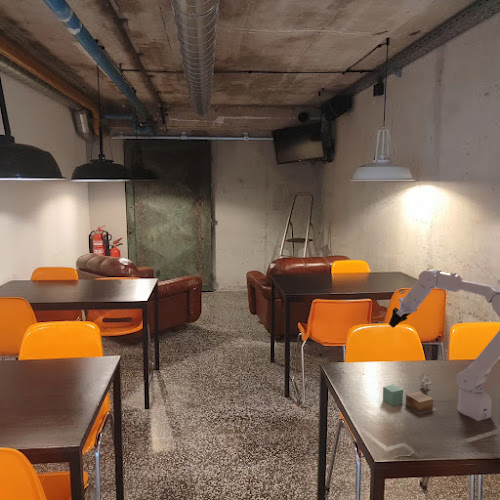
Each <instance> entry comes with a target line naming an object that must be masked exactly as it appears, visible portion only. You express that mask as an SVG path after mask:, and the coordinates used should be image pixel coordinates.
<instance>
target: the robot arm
mask: <svg viewBox="0 0 500 500" xmlns="http://www.w3.org/2000/svg"><path fill="white" fill-rule="evenodd" d="M434 288H436V289H439V290H443V291H448V292H454V293H458V292H459V291H464V292H468V293H471V294H475V295H478V296H482V297H484V298H485V300H486V302H487V304H490V303H491V307H492V309H493V311H494V313H496V316H498V317H499V319H500V285H499V286H498V285H494V284H489V283H481V282H476V281H471V280H470V281H469V280H464V279H463V278H462V277H461V275H459V274H457V272H450V273H448V272H444V271H442V270H440V269H435V268H434V269H433V268H432V269H428V270H423V271H421V272H420V273H419V274H418V280H417V281H416V282H415V283H414V284H413V286H412V287H410V289H409V291H408V292H407V294H406V295H405V296H404V297H398V300H397V301H399V308H398V307H394V308H393V309H392V313H391V318H390V319H389V322H388V326H390V327H391V328H392V329H393V328H395V327H396V326H398V325H399V324H400V323H402V322H404V321H407V320H408V316H409V315H411V314H413V313H416V312H417V311H418V308H419V307H420V306H421V304H422V303H423V302H424V301H425V299H426V298H427V297H428V296H429V295H430V294H431V292H432V290H433V289H434ZM499 360H500V329H499V330H498V331H497V333H496V334H495V335H494V336H493V338H491V340H490V342H488V343H487V345H486V346H485V347H484V348H483V350H482V351H481V352H480V353H479V354H478V356H477V357H476V358H475V359H474V361H472V362H471V363H470V364H469V366H468V365H467V367H466V368H465V369H464V370H462V371H459V372H458V373H457V374H456V375H455V379H456V384H457V385H458V398H457V411H458V412H459V413H460V414H462V415H464V416H467V417H470V418H471V419H473V420H475V421H477V422H480V421H483V420H487V419H490V418H491V417H492V406H493V405H492V404H493V401H492V397H491V396H490V395H488V394H487V393H486V391H485V388H484V387H485V386H484V384H485V383H486V382H487V381H488V378H489V377H488V375H489V373H490V372H491V370H492V368H493V366H494V365H495V364H496V363H497V362H498V361H499Z"/></svg>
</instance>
